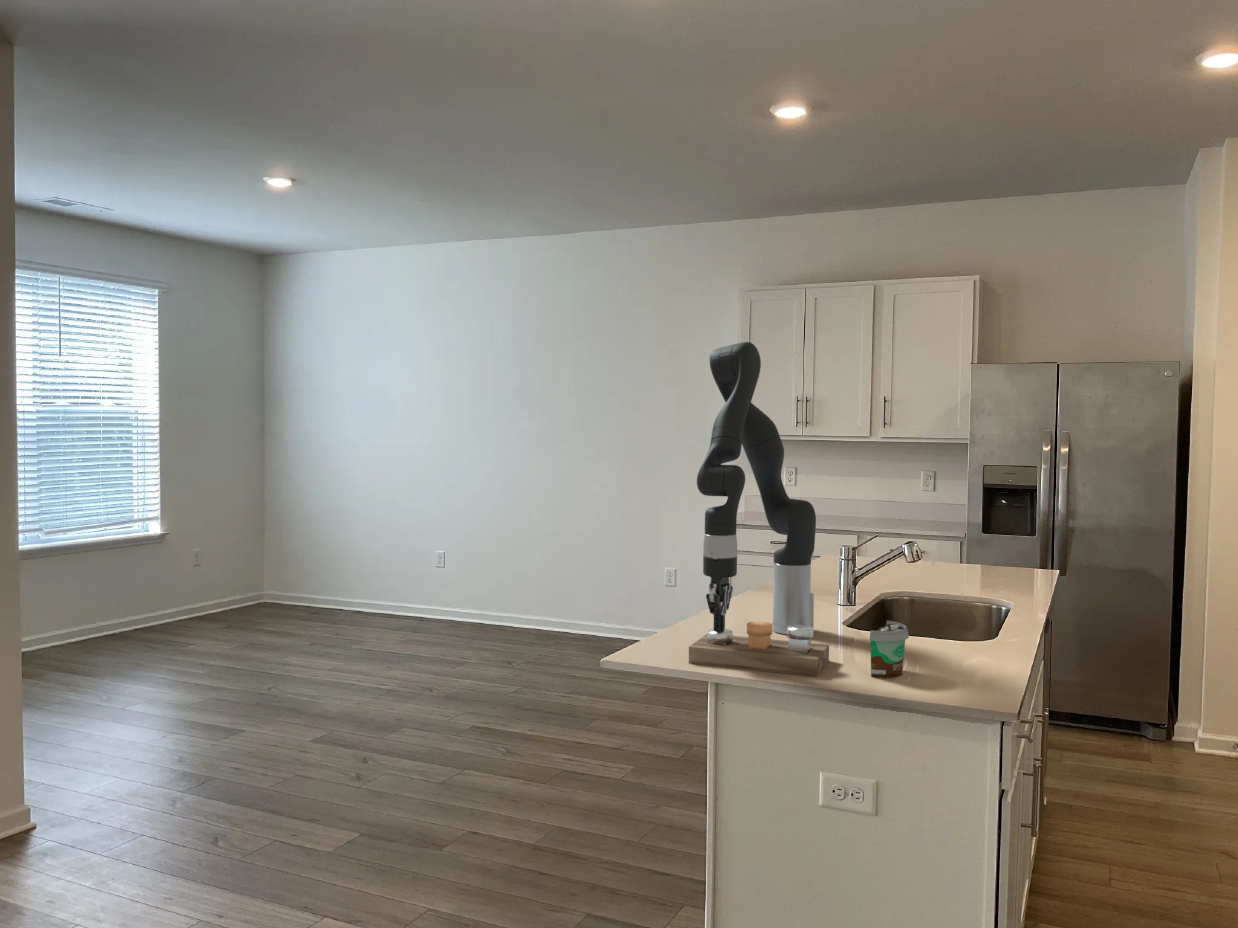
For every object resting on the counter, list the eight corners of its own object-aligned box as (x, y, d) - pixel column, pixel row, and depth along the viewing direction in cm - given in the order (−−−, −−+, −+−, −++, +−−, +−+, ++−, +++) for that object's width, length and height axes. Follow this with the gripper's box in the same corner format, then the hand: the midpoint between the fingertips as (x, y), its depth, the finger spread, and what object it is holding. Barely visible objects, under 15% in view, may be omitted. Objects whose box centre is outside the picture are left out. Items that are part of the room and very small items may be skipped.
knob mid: (750, 642, 219) (750, 620, 219) (774, 644, 217) (775, 622, 216) (743, 648, 214) (743, 625, 213) (768, 650, 212) (769, 627, 211)
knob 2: (790, 646, 215) (790, 623, 215) (815, 648, 213) (815, 626, 213) (784, 652, 210) (784, 629, 210) (810, 654, 208) (810, 631, 208)
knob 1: (711, 649, 222) (711, 627, 222) (735, 651, 220) (735, 629, 220) (704, 654, 217) (704, 632, 217) (728, 657, 215) (728, 634, 215)
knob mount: (707, 648, 227) (707, 633, 227) (828, 660, 217) (829, 644, 216) (688, 662, 214) (688, 646, 214) (816, 676, 204) (816, 659, 203)
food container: (898, 682, 199) (899, 634, 199) (868, 678, 202) (869, 630, 202) (915, 669, 210) (916, 623, 209) (886, 665, 213) (887, 619, 212)
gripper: (712, 549, 225) (711, 623, 226) (694, 557, 213) (693, 635, 214) (744, 551, 222) (743, 626, 223) (728, 559, 210) (727, 639, 211)
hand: (719, 631), depth 219 cm, fingers closed
